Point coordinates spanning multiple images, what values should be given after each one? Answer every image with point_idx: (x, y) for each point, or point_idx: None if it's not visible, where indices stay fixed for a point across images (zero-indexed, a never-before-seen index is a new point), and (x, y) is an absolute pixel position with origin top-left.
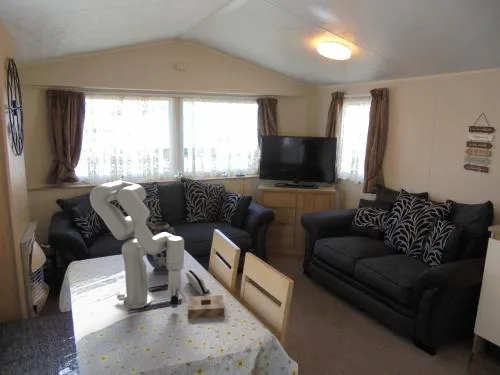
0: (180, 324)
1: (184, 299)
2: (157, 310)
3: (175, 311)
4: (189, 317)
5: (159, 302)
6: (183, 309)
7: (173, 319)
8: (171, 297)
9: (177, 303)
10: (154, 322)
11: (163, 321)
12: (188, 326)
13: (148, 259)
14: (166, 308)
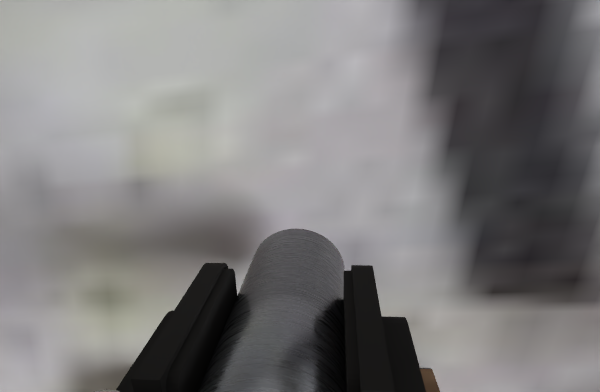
0: (50, 301)
1: (576, 330)
2: (351, 15)
3: None
4: None
5: (593, 11)
6: None
7: (134, 234)
8: (145, 371)
9: None
10: (53, 19)
11: (86, 130)
12: (28, 364)
13: None
14: (389, 136)
